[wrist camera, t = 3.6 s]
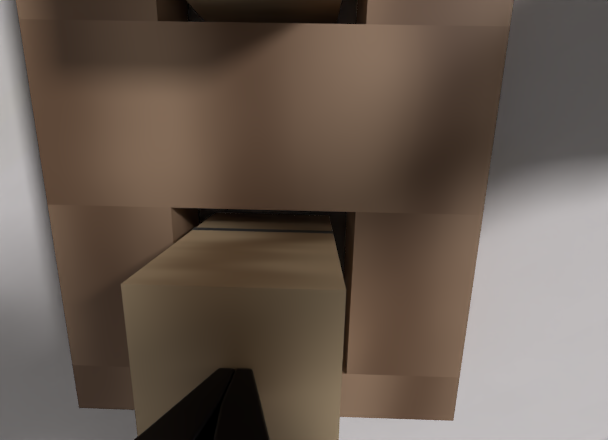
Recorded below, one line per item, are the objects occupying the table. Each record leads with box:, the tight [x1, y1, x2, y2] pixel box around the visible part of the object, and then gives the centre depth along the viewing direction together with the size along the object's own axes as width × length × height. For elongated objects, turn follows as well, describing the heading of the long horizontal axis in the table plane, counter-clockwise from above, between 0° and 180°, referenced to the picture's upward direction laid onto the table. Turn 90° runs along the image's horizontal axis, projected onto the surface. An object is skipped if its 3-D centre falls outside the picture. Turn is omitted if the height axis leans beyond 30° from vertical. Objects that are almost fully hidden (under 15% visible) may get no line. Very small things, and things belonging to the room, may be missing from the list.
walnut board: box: [16, 0, 514, 421], centre depth 11 cm, size 16×24×8 cm, turn 179°
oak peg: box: [121, 212, 346, 440], centre depth 12 cm, size 5×5×8 cm
